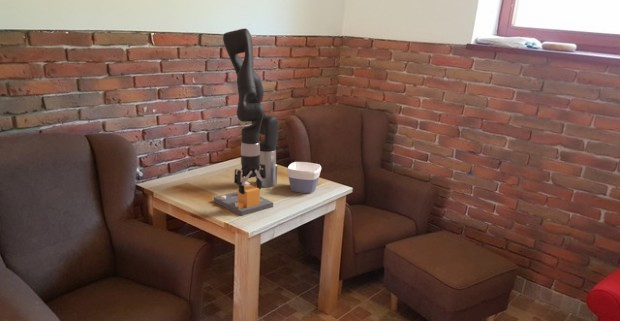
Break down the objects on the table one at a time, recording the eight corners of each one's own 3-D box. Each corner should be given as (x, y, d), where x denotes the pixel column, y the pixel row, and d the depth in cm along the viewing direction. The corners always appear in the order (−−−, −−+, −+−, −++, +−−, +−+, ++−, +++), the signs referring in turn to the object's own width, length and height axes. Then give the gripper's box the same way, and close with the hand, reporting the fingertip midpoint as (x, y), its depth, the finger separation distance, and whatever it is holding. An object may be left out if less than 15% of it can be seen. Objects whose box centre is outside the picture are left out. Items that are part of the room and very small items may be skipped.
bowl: (322, 186, 221) (323, 163, 218) (315, 196, 207) (317, 172, 204) (292, 182, 225) (292, 160, 222) (283, 192, 210) (283, 169, 207)
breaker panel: (244, 193, 206) (244, 185, 205) (273, 206, 192) (273, 197, 191) (213, 201, 195) (213, 192, 194) (241, 215, 181) (241, 206, 180)
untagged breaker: (246, 192, 202) (246, 180, 200) (251, 194, 199) (251, 182, 198) (240, 193, 200) (240, 182, 198) (245, 195, 197) (245, 184, 196)
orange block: (250, 199, 193) (250, 184, 191) (259, 204, 189) (259, 188, 187) (237, 203, 189) (237, 188, 187) (247, 207, 184) (247, 192, 183)
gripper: (258, 148, 190) (258, 185, 195) (230, 153, 181) (230, 192, 185) (270, 152, 185) (269, 190, 190) (241, 158, 175) (241, 197, 180)
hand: (250, 191), depth 187 cm, fingers open, 8 cm apart
